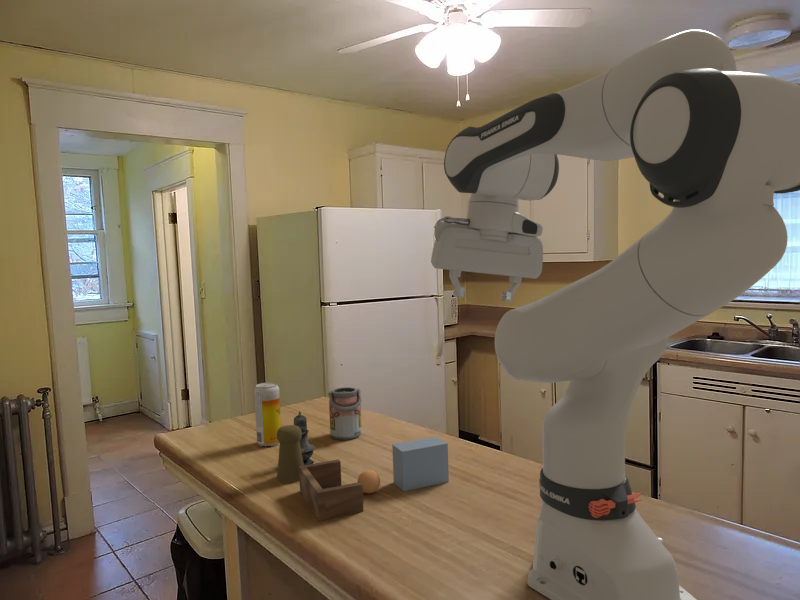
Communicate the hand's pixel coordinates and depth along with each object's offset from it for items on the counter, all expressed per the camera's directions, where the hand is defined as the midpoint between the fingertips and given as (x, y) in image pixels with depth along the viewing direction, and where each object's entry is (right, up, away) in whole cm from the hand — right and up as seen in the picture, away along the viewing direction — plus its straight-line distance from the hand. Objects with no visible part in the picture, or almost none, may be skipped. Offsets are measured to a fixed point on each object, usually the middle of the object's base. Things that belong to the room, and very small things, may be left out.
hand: (483, 299), depth 102 cm
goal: (-28, -38, +6) cm, 48 cm away
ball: (-21, -38, +9) cm, 44 cm away
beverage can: (-29, -36, +45) cm, 64 cm away
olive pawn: (-38, -38, +18) cm, 57 cm away
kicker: (-11, -37, +14) cm, 41 cm away
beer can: (-48, -36, +41) cm, 73 cm away
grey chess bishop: (-37, -37, +26) cm, 59 cm away
